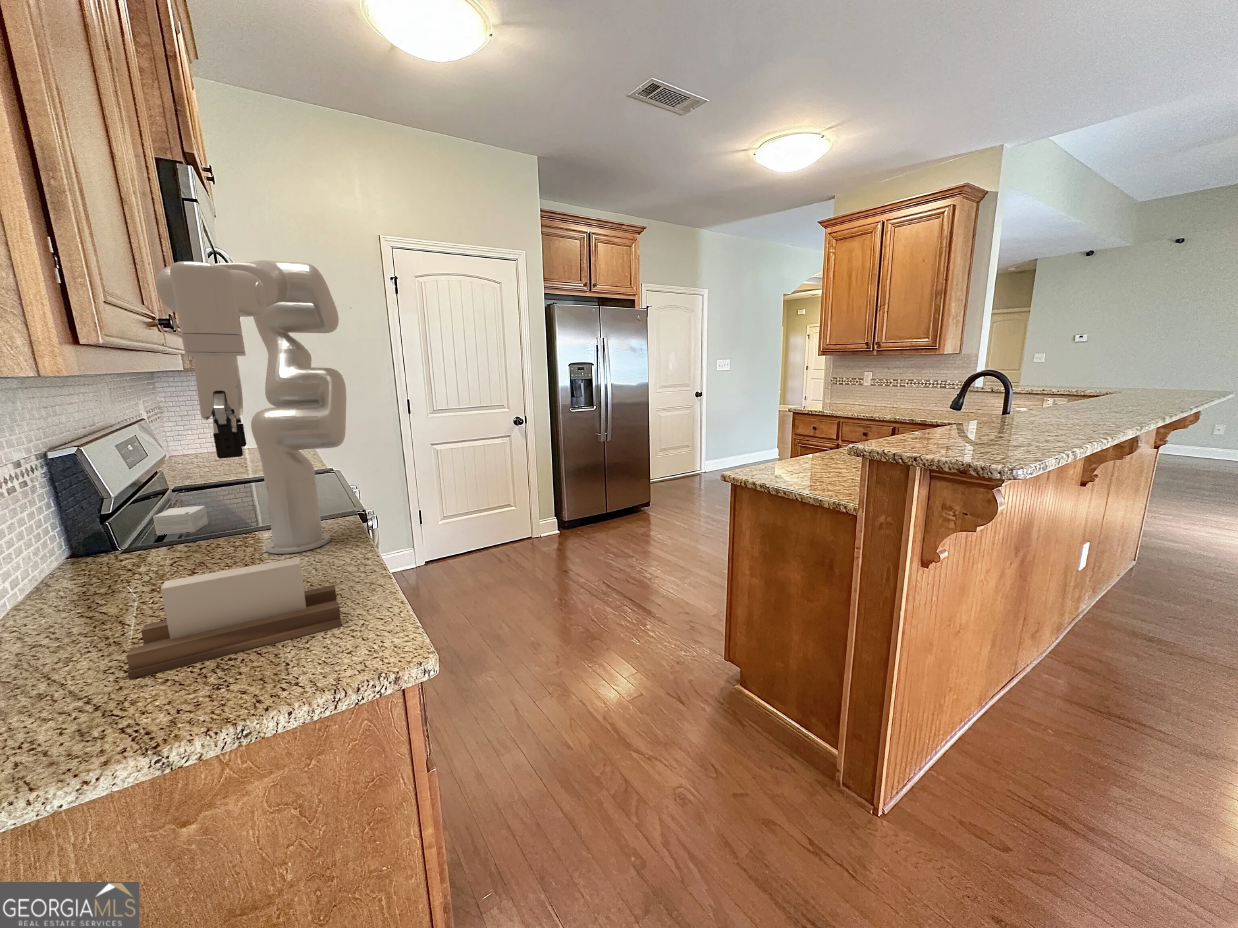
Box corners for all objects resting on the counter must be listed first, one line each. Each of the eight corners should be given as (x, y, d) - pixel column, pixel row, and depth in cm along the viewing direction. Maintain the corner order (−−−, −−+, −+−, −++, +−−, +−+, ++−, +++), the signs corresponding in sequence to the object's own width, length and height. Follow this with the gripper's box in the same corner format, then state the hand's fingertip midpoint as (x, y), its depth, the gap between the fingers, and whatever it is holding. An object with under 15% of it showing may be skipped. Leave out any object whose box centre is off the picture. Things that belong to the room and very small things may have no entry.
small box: (172, 526, 126) (169, 507, 125) (209, 523, 128) (206, 505, 127) (155, 536, 119) (151, 516, 118) (194, 532, 121) (191, 513, 120)
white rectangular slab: (176, 639, 70) (165, 581, 68) (306, 609, 79) (299, 557, 77) (172, 648, 68) (160, 588, 66) (307, 616, 76) (300, 563, 75)
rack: (149, 640, 72) (145, 622, 71) (336, 599, 85) (334, 583, 84) (129, 679, 63) (124, 658, 62) (341, 625, 76) (339, 608, 75)
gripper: (191, 346, 82) (210, 445, 86) (173, 346, 68) (196, 464, 72) (247, 346, 86) (262, 441, 90) (240, 347, 72) (259, 459, 76)
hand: (233, 451), depth 81 cm, fingers open, 9 cm apart
